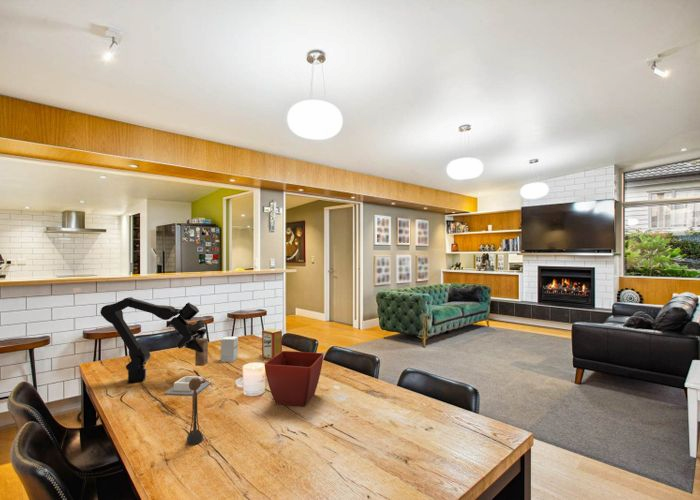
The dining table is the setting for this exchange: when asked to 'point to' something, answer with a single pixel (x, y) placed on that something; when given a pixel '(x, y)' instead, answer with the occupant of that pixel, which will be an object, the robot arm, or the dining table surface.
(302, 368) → the plant pot
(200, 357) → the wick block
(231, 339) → the supplement box
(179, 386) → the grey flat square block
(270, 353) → the baking soda box
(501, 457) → the dining table surface
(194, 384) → the wooden tabletop sculpture
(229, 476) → the dining table surface
